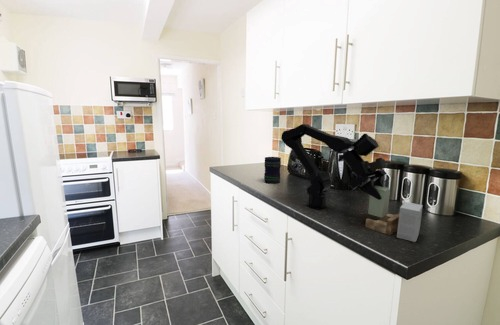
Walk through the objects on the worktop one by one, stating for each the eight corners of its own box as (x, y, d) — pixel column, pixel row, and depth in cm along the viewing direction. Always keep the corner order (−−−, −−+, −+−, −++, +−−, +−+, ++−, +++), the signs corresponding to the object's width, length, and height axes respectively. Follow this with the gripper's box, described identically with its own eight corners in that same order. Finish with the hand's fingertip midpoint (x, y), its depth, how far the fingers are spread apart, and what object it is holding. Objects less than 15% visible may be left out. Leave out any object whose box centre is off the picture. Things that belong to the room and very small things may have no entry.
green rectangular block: (368, 213, 96) (370, 187, 95) (373, 211, 99) (376, 185, 98) (382, 217, 93) (384, 190, 91) (387, 214, 96) (390, 188, 94)
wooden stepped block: (365, 227, 94) (366, 214, 93) (380, 218, 102) (381, 206, 101) (390, 235, 87) (391, 221, 86) (403, 225, 95) (405, 212, 95)
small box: (400, 229, 92) (403, 201, 90) (419, 234, 88) (423, 204, 87) (396, 237, 86) (399, 207, 84) (415, 242, 82) (419, 211, 81)
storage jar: (260, 181, 159) (261, 157, 157) (271, 179, 166) (272, 156, 163) (272, 184, 152) (273, 159, 150) (283, 182, 159) (284, 158, 156)
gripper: (360, 152, 89) (391, 190, 83) (383, 148, 101) (411, 181, 95) (338, 171, 96) (364, 207, 90) (362, 165, 108) (387, 197, 102)
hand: (383, 198), depth 94 cm, fingers closed on green rectangular block, 4 cm apart
